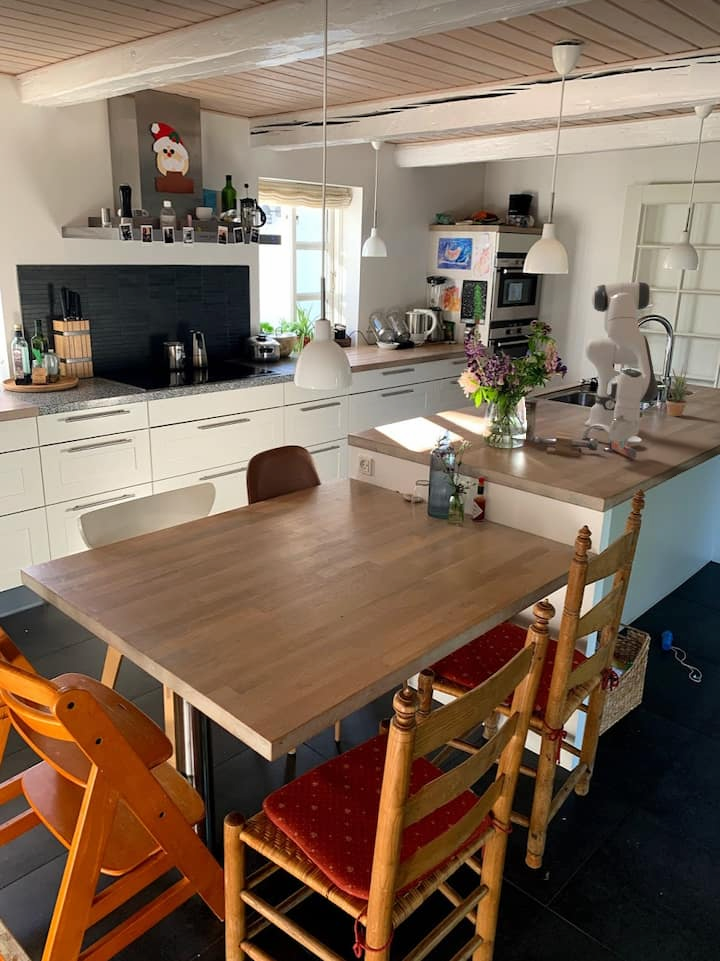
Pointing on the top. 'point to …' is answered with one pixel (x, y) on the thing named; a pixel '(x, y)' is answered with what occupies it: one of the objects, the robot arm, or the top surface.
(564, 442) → the eye block
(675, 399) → the potted plant
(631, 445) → the spoon rest
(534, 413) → the coffee box
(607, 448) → the lever base
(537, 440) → the hook rod
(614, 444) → the latch lever
